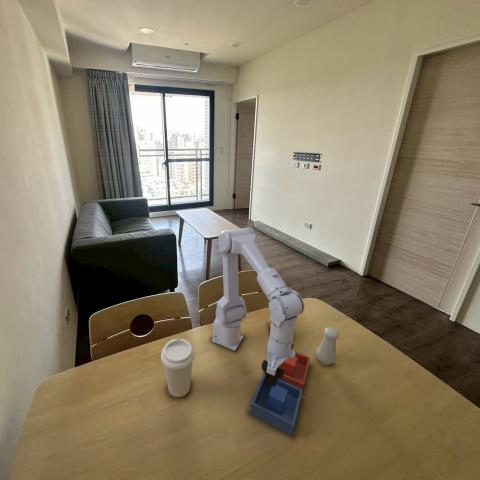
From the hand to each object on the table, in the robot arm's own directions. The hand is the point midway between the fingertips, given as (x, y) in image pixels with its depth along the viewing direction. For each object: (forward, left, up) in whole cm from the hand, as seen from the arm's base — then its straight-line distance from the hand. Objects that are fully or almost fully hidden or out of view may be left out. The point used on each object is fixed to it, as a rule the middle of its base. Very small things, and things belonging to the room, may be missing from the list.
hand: (275, 373), depth 69 cm
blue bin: (+2, -2, -10) cm, 10 cm away
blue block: (+2, -2, -9) cm, 9 cm away
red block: (+2, +11, -9) cm, 14 cm away
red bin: (+2, +11, -10) cm, 15 cm away
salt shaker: (+12, +22, -10) cm, 27 cm away
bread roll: (-5, +28, -10) cm, 30 cm away
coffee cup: (-25, -11, -10) cm, 29 cm away
